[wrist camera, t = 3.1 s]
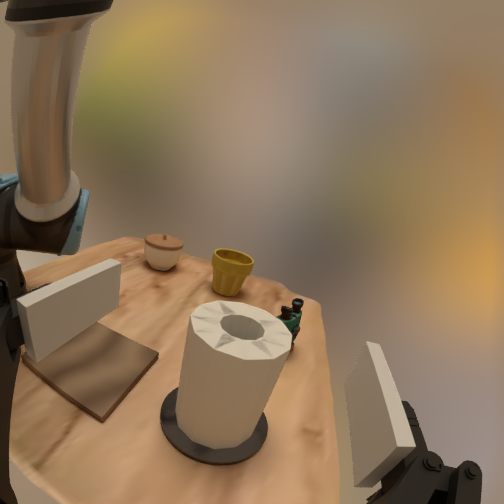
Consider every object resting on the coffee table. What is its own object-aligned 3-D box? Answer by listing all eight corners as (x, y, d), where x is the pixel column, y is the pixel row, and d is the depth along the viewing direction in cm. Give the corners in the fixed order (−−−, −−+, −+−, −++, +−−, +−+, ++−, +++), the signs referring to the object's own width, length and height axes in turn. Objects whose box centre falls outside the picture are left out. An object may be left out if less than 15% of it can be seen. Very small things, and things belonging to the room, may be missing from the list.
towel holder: (141, 436, 25) (141, 362, 21) (184, 373, 38) (197, 302, 35) (255, 478, 23) (296, 417, 20) (272, 403, 36) (302, 336, 33)
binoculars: (269, 285, 56) (314, 301, 51) (260, 330, 58) (301, 348, 53) (244, 294, 48) (294, 314, 43) (235, 344, 51) (280, 366, 46)
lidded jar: (153, 255, 80) (157, 226, 77) (184, 266, 79) (190, 235, 76) (134, 265, 70) (138, 232, 67) (168, 278, 69) (174, 243, 66)
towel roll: (163, 429, 26) (174, 333, 22) (192, 381, 36) (211, 292, 32) (244, 458, 25) (287, 372, 21) (258, 404, 34) (294, 318, 30)
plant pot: (252, 299, 70) (262, 264, 67) (216, 301, 64) (225, 263, 61) (233, 281, 78) (241, 249, 75) (199, 281, 72) (207, 246, 69)
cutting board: (22, 361, 26) (21, 355, 26) (84, 319, 41) (84, 314, 41) (103, 422, 24) (101, 417, 24) (158, 358, 40) (158, 352, 39)
